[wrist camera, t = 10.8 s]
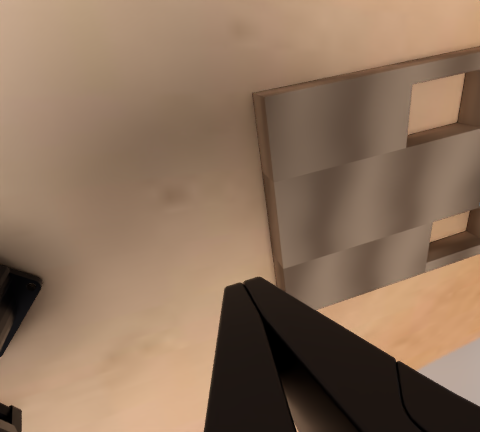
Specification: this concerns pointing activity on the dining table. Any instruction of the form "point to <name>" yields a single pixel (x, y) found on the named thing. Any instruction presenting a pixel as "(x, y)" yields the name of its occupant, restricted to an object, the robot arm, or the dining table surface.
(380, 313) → the dining table surface
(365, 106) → the board
